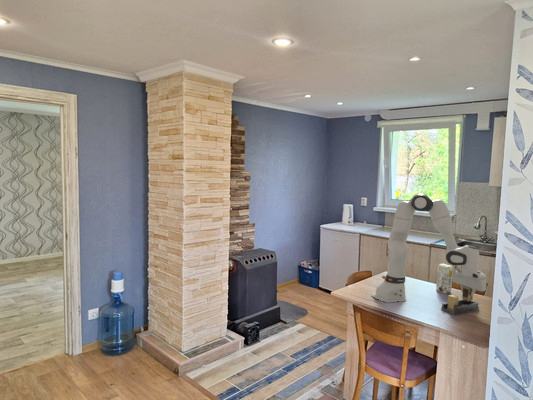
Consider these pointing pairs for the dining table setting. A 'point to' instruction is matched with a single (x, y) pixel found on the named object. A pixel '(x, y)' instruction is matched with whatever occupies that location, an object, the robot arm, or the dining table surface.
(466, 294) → the brown wooden block
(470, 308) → the grey tray with block
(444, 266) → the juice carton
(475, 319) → the dining table surface
